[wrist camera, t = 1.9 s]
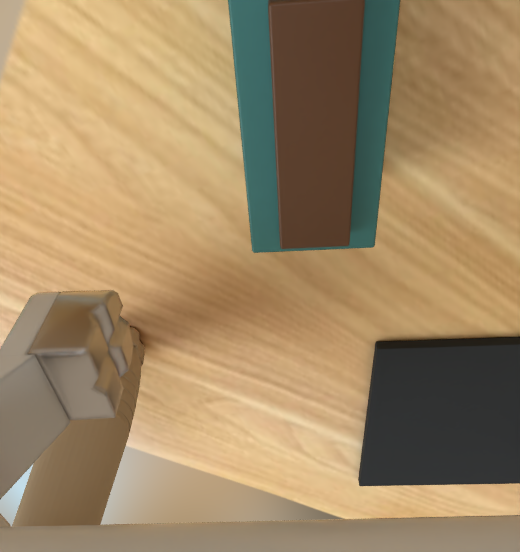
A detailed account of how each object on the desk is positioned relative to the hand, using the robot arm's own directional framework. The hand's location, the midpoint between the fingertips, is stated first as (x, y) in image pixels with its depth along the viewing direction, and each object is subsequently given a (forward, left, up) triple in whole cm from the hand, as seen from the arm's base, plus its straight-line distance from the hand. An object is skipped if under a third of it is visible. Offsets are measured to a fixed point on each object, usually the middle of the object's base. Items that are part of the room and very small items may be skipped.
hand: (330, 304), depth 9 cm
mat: (-16, +23, -13) cm, 31 cm away
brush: (0, 0, -13) cm, 13 cm away
